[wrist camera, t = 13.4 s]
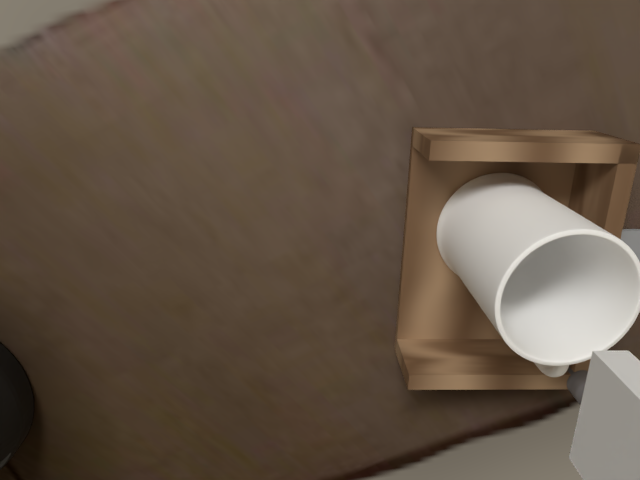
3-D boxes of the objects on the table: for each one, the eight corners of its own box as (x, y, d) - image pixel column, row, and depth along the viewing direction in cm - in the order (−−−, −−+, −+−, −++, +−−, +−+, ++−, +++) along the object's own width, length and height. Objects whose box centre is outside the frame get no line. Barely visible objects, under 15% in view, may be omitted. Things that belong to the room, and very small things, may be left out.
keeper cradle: (394, 352, 44) (416, 422, 36) (412, 127, 38) (443, 149, 30) (556, 352, 45) (614, 420, 37) (599, 130, 39) (680, 153, 31)
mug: (550, 311, 43) (641, 407, 31) (441, 326, 43) (494, 428, 32) (551, 164, 39) (656, 213, 27) (432, 181, 39) (488, 237, 28)
